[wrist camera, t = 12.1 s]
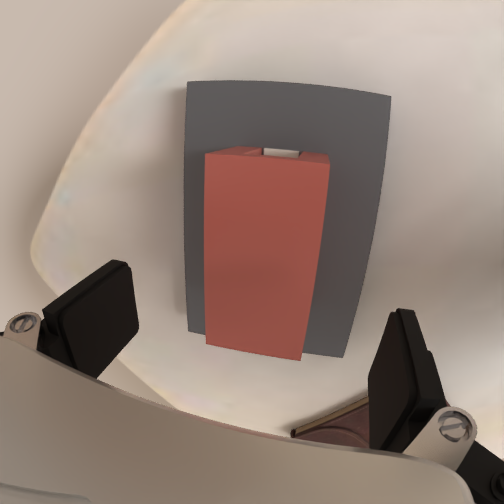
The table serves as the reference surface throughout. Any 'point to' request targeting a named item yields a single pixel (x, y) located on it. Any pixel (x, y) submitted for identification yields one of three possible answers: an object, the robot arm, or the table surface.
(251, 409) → the table surface
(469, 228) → the table surface
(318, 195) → the block
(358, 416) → the notebook
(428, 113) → the table surface
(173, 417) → the robot arm
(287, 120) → the board
